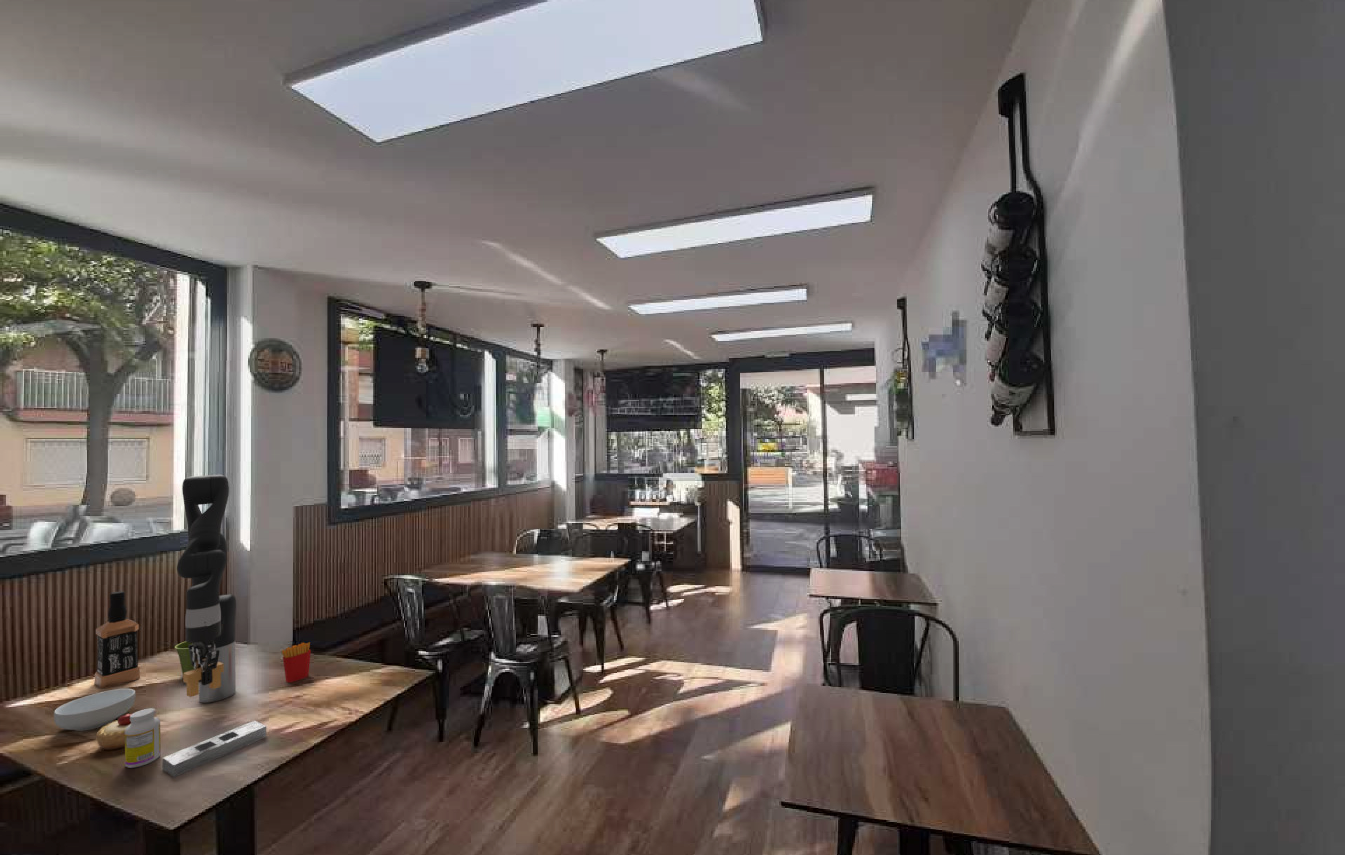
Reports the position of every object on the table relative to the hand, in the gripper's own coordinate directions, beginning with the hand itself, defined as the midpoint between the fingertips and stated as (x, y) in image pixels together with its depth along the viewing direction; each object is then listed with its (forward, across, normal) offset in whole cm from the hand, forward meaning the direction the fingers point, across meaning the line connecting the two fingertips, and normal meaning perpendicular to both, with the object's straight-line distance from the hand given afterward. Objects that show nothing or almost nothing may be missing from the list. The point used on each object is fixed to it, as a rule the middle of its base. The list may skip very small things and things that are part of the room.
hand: (204, 682), depth 148 cm
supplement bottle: (+16, -2, -12) cm, 21 cm away
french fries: (+17, -20, +33) cm, 42 cm away
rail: (+16, +11, -1) cm, 20 cm away
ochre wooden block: (+2, 0, 0) cm, 2 cm away
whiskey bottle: (+17, -80, +3) cm, 82 cm away
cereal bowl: (+17, -43, -11) cm, 47 cm away
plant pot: (+17, -61, +19) cm, 66 cm away
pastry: (+17, -21, -10) cm, 29 cm away
